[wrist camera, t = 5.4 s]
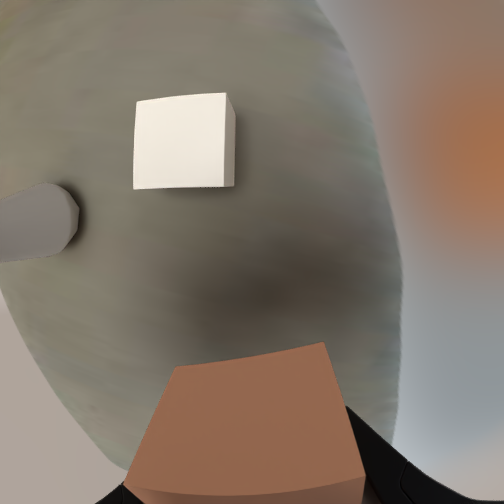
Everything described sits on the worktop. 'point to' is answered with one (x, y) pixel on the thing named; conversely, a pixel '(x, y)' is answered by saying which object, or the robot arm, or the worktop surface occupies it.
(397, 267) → the worktop surface
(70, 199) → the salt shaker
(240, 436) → the terracotta cube
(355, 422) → the robot arm
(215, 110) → the off-white cube
